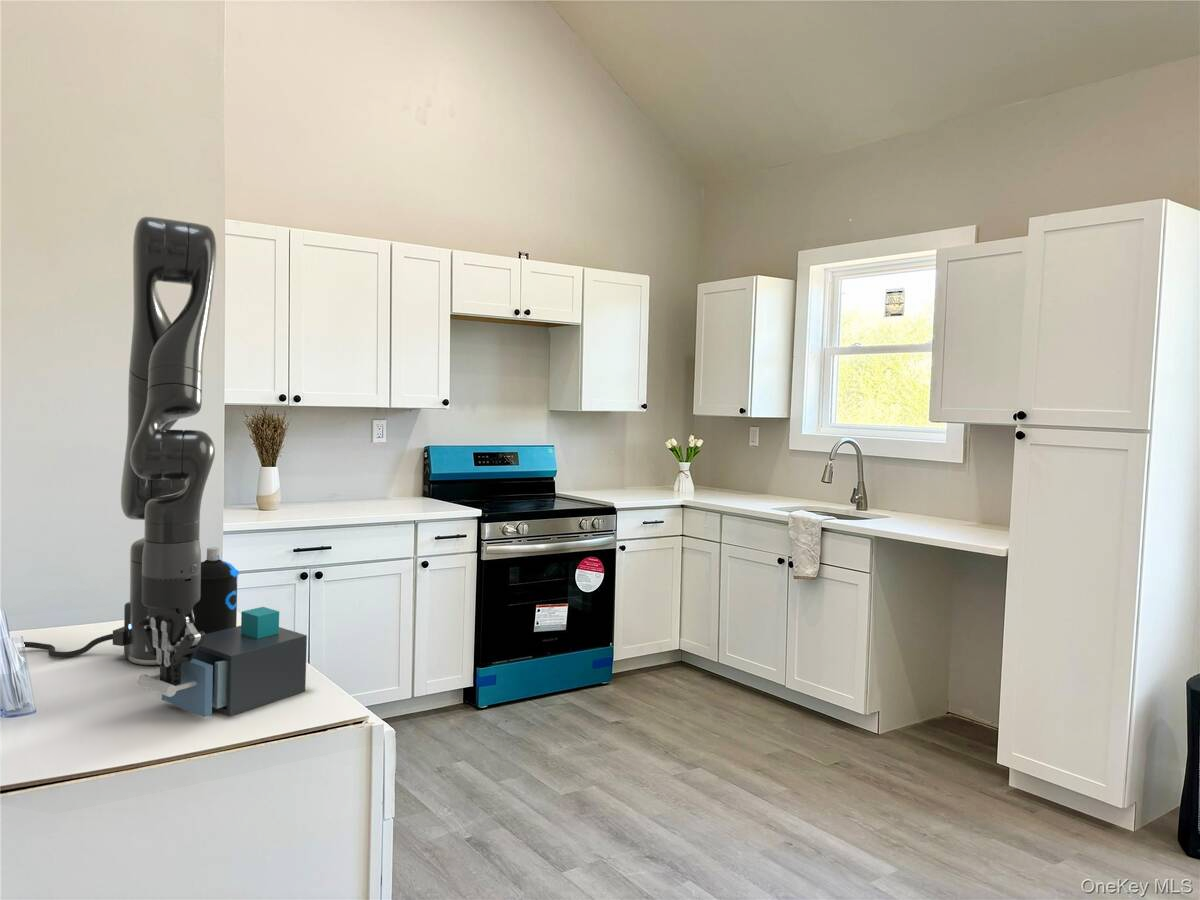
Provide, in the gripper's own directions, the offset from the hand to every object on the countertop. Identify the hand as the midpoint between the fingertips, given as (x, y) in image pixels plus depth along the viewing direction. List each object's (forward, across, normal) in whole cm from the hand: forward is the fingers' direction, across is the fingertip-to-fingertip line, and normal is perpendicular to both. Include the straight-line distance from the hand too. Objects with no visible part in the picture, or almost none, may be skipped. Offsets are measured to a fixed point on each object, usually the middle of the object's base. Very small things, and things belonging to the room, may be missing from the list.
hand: (170, 689), depth 128 cm
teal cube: (-5, 0, +15) cm, 16 cm away
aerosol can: (+5, -16, +18) cm, 24 cm away
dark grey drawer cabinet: (+4, 0, +13) cm, 13 cm away
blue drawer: (+3, 0, +6) cm, 7 cm away
